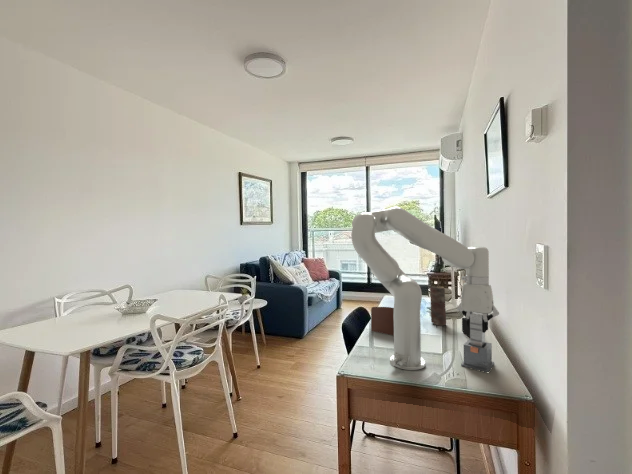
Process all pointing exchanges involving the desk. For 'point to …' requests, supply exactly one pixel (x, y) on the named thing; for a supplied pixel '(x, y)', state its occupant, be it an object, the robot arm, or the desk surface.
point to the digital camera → (465, 327)
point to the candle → (438, 305)
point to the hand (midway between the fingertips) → (477, 329)
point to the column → (477, 330)
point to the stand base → (478, 357)
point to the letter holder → (382, 320)
